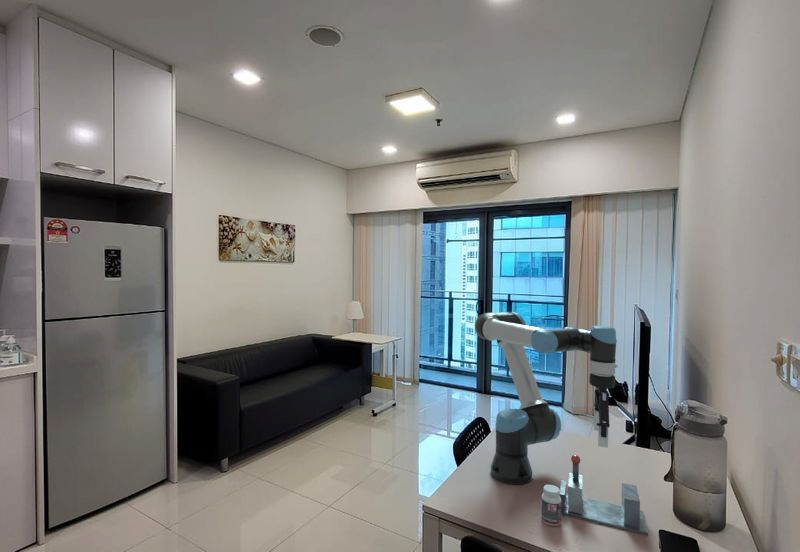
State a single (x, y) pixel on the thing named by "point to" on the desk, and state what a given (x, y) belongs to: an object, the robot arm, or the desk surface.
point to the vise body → (610, 510)
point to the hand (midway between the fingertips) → (600, 438)
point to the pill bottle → (551, 505)
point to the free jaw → (575, 487)
